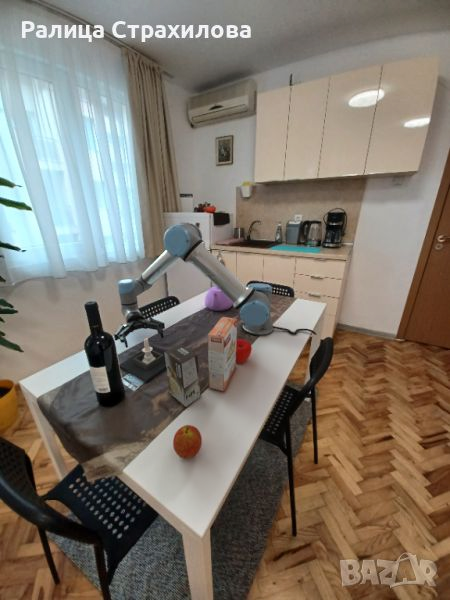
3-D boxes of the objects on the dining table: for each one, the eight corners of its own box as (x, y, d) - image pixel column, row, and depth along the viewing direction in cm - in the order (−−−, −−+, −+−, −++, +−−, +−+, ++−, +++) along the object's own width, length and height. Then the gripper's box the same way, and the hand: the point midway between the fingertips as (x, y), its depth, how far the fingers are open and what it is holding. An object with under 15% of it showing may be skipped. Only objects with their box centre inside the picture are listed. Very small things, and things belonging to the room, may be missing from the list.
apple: (247, 369, 90) (248, 351, 87) (225, 364, 93) (225, 347, 90) (253, 356, 98) (254, 339, 95) (233, 352, 100) (233, 335, 97)
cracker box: (225, 392, 79) (224, 337, 71) (208, 388, 80) (206, 334, 73) (236, 367, 91) (237, 318, 83) (222, 364, 93) (221, 315, 85)
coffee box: (201, 396, 77) (199, 354, 71) (185, 407, 73) (181, 364, 67) (183, 383, 83) (180, 343, 77) (168, 392, 79) (163, 351, 73)
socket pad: (178, 359, 96) (178, 353, 95) (146, 382, 83) (145, 375, 82) (151, 347, 104) (150, 341, 103) (119, 367, 91) (117, 360, 90)
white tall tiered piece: (144, 366, 90) (140, 343, 86) (140, 360, 94) (136, 337, 90) (157, 361, 93) (154, 338, 89) (153, 355, 97) (150, 333, 93)
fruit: (178, 470, 56) (175, 446, 53) (171, 445, 61) (168, 422, 58) (206, 457, 58) (205, 434, 55) (197, 434, 64) (195, 412, 61)
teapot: (208, 298, 158) (207, 278, 153) (235, 299, 156) (235, 279, 151) (200, 314, 135) (198, 291, 130) (231, 316, 133) (231, 293, 128)
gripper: (162, 320, 117) (176, 339, 100) (106, 332, 105) (111, 357, 88) (160, 306, 114) (174, 323, 97) (103, 317, 103) (108, 339, 85)
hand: (144, 339), depth 93 cm, fingers open, 13 cm apart
